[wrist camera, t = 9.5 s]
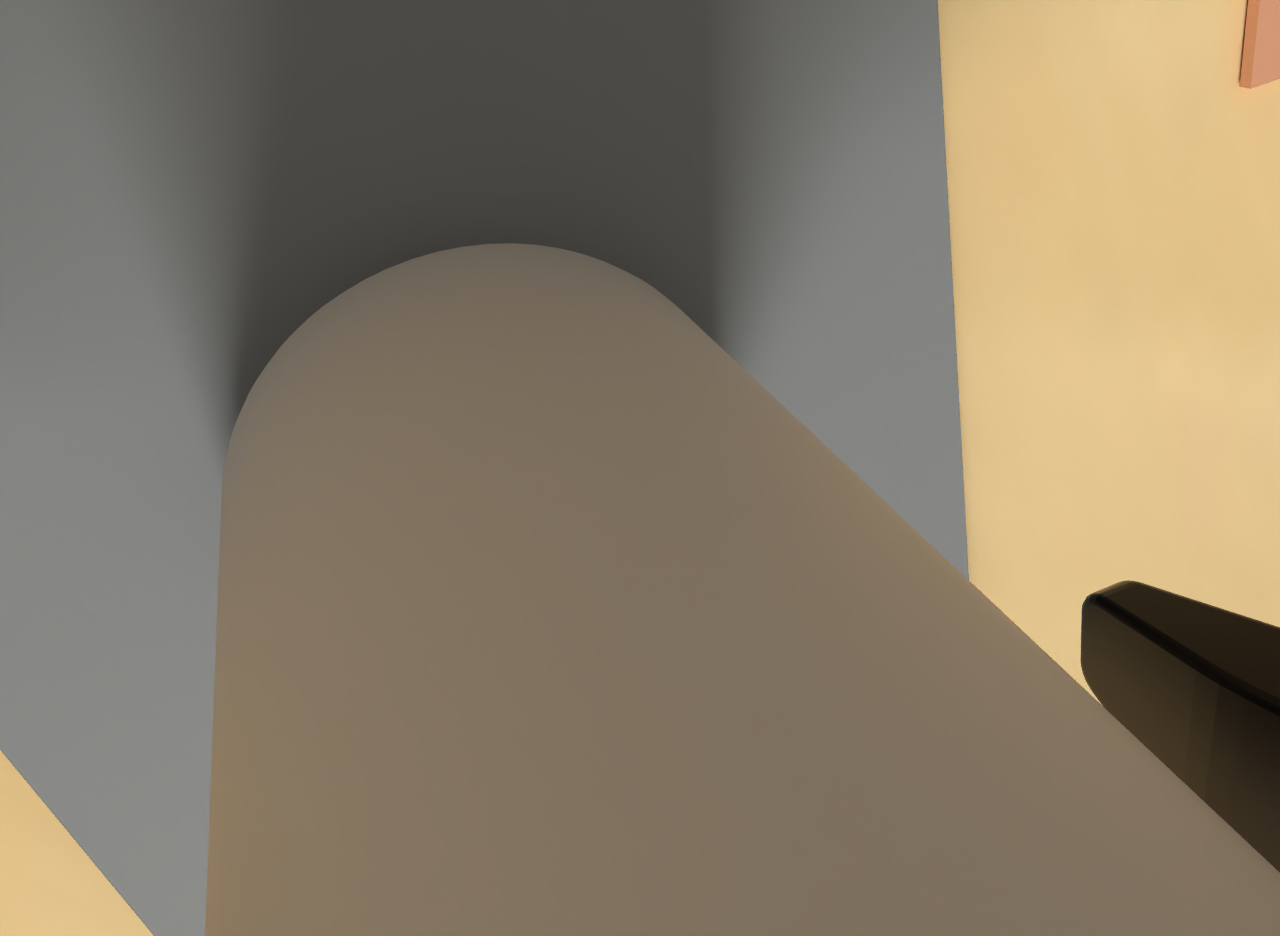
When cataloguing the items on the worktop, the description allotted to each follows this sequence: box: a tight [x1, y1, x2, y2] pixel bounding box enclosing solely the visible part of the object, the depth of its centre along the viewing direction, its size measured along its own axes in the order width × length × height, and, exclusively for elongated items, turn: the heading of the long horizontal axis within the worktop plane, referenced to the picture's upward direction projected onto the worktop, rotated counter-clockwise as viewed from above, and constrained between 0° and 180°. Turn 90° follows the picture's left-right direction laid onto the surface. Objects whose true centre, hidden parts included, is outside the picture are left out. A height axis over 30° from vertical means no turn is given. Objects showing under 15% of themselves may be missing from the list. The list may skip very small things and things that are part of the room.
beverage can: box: [205, 243, 1280, 936], centre depth 8 cm, size 6×6×12 cm
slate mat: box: [0, 0, 969, 936], centre depth 14 cm, size 14×14×1 cm
